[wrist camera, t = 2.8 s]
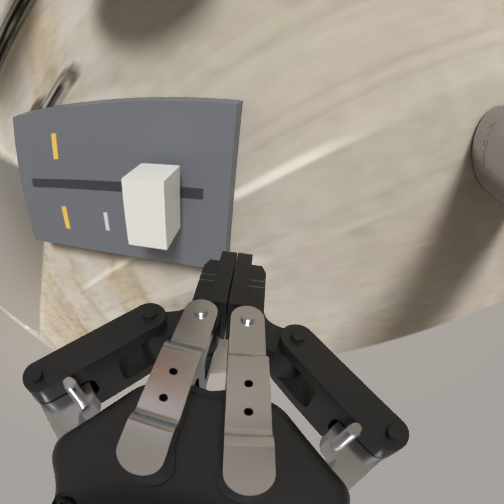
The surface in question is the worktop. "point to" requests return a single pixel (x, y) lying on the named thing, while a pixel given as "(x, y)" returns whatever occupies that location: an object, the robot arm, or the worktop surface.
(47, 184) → the panel
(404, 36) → the worktop surface
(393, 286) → the worktop surface
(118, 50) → the worktop surface
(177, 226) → the fader knob
